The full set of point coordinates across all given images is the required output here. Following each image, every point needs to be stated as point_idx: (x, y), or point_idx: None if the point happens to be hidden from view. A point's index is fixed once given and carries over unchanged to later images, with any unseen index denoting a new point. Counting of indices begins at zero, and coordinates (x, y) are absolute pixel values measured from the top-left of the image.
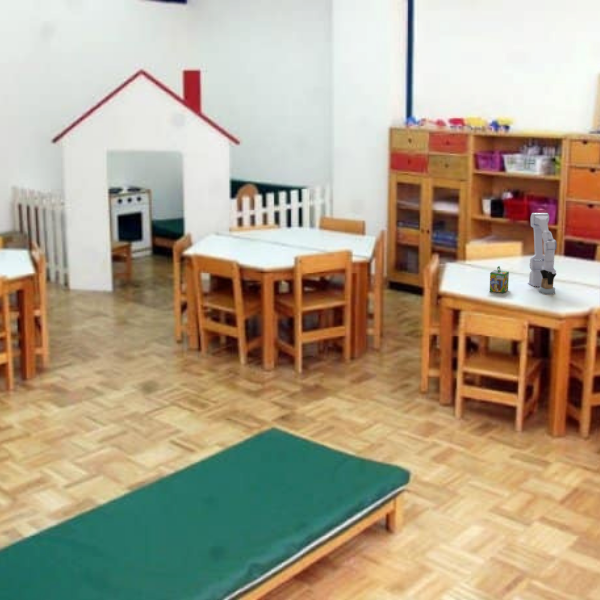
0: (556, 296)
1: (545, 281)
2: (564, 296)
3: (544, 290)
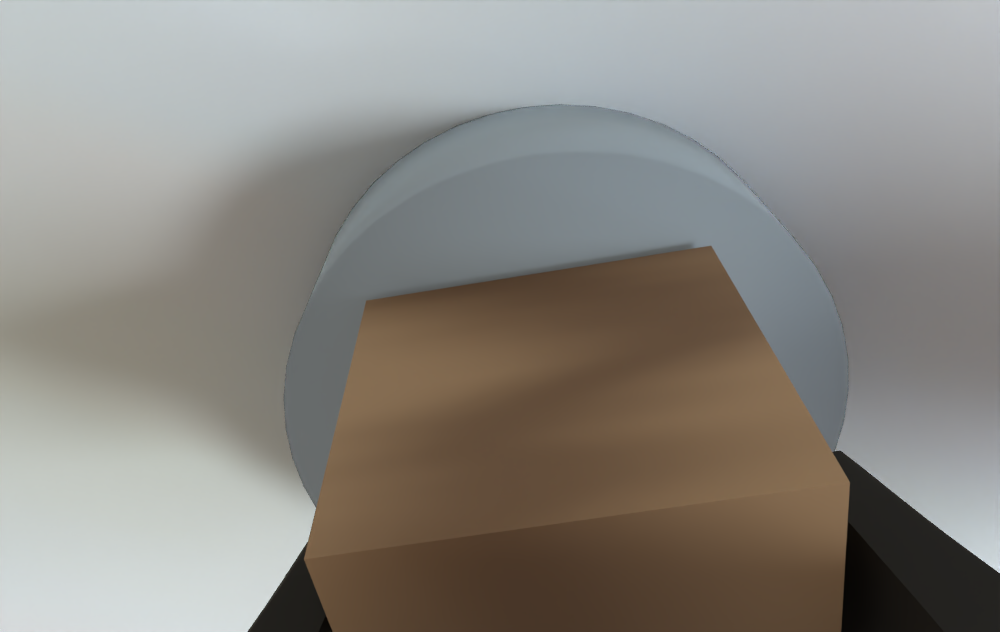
0: (31, 441)
1: (349, 505)
2: (67, 608)
3: (335, 249)
